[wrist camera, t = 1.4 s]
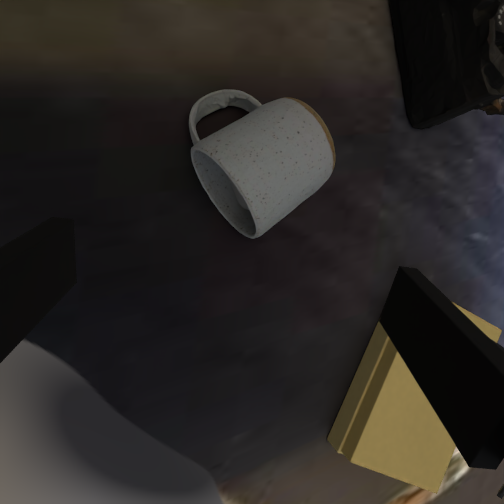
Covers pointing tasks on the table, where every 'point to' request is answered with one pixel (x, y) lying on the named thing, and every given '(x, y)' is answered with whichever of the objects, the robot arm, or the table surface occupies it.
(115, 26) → the table surface
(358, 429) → the tan lidded box
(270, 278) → the table surface
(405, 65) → the film camera
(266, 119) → the ceramic mug
